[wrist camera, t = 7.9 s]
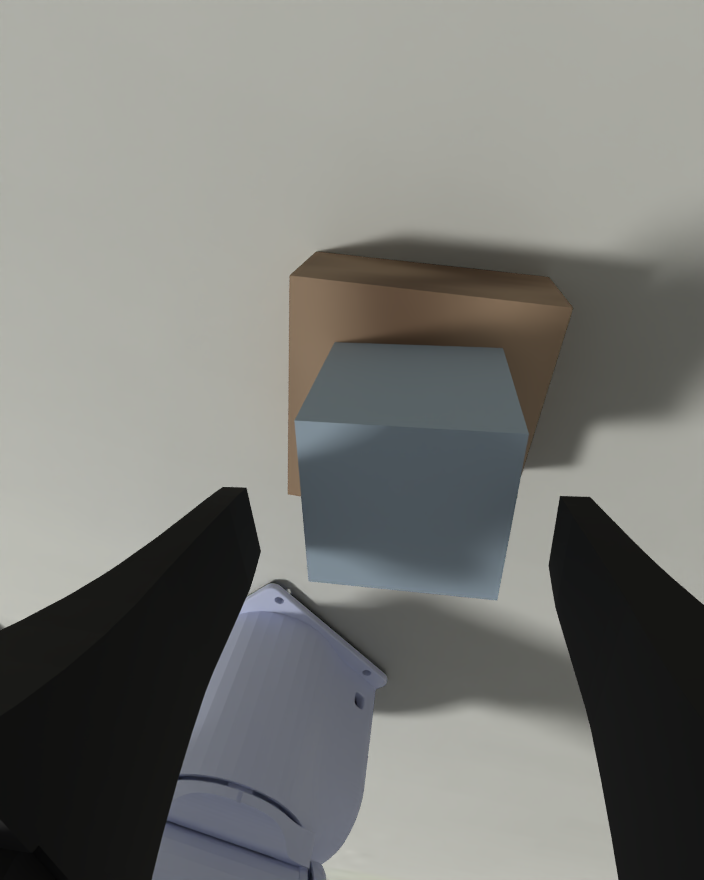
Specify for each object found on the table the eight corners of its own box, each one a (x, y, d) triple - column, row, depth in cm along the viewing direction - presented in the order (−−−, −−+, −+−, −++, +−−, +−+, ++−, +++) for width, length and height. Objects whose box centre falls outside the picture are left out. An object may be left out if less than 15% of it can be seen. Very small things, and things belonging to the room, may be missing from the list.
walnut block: (547, 274, 17) (573, 307, 14) (494, 466, 21) (504, 528, 18) (318, 249, 18) (289, 275, 14) (311, 439, 22) (287, 494, 19)
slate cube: (502, 348, 15) (528, 434, 10) (482, 486, 17) (497, 600, 13) (334, 341, 15) (294, 420, 11) (339, 476, 18) (308, 581, 14)
